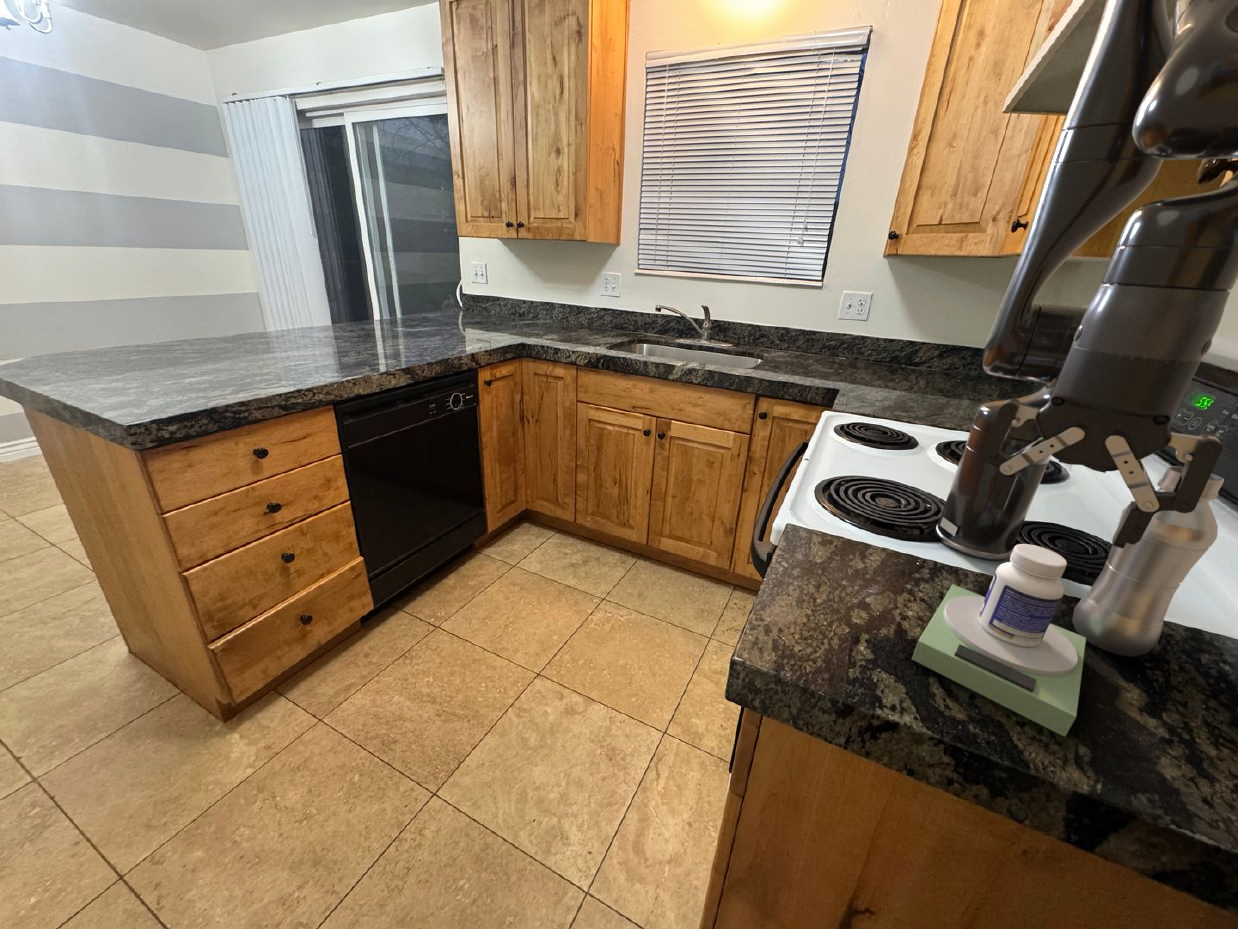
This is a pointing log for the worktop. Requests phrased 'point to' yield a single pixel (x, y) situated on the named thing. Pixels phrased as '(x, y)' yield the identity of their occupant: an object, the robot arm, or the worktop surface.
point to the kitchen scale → (1005, 662)
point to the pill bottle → (1024, 596)
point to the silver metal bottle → (1146, 575)
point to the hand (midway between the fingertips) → (1054, 525)
